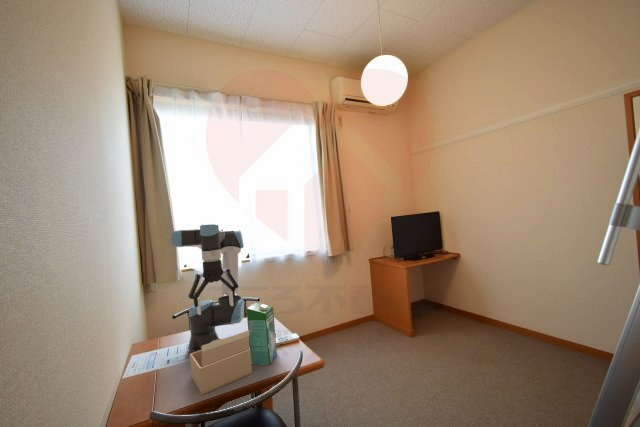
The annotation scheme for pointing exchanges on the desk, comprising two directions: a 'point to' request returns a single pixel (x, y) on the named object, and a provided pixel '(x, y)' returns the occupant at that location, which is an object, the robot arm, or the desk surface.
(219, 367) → the carton
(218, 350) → the flap
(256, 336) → the milk carton
